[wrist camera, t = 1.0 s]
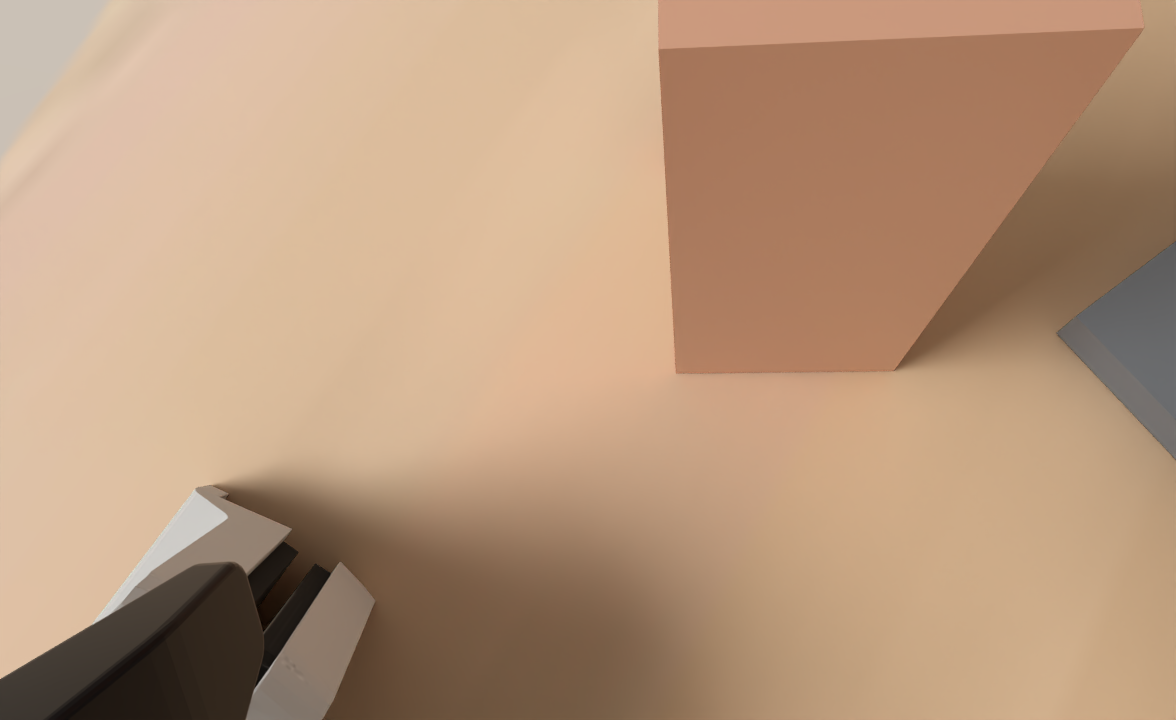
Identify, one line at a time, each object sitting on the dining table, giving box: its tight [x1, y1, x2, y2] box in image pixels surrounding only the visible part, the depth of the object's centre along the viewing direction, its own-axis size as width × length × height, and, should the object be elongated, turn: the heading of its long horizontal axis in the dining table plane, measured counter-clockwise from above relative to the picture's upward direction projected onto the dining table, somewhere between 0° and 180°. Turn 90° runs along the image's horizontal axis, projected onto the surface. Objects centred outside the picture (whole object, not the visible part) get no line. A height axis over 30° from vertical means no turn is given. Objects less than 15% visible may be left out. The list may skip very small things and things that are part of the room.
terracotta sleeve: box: [658, 0, 1145, 373], centre depth 17 cm, size 5×5×13 cm
